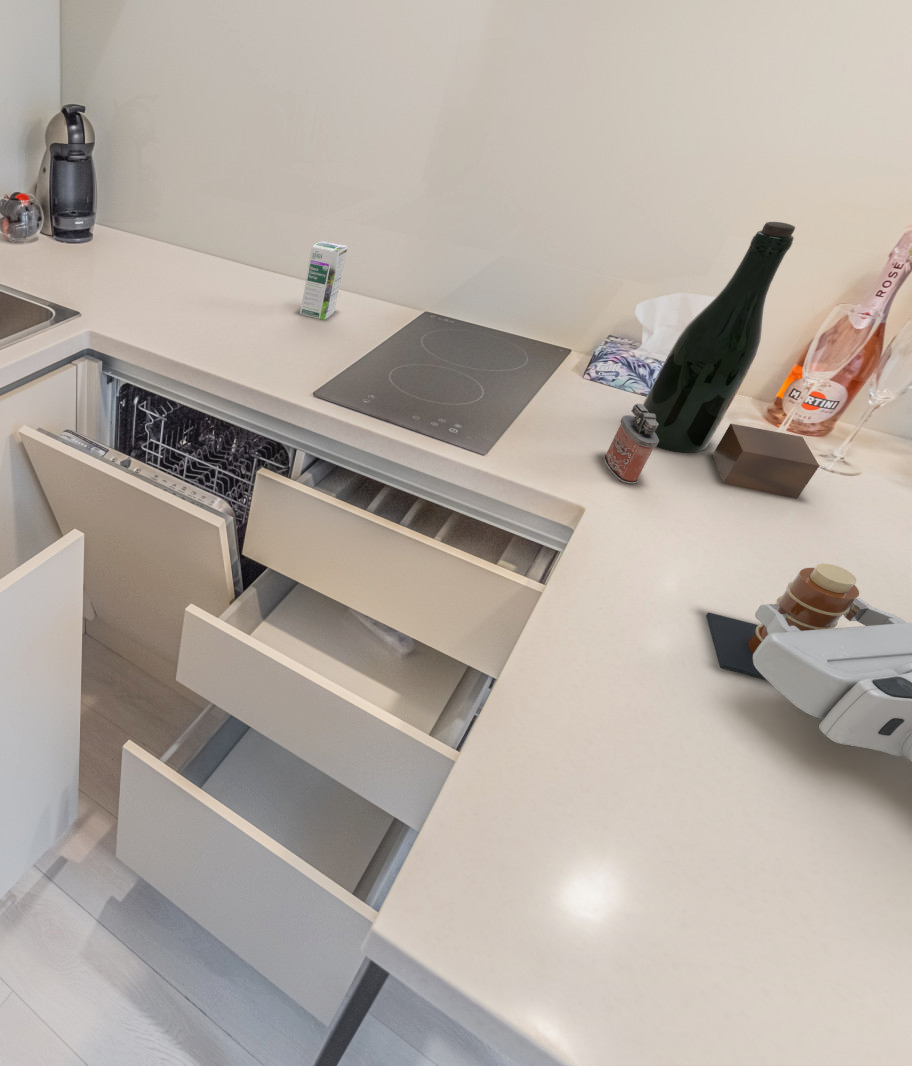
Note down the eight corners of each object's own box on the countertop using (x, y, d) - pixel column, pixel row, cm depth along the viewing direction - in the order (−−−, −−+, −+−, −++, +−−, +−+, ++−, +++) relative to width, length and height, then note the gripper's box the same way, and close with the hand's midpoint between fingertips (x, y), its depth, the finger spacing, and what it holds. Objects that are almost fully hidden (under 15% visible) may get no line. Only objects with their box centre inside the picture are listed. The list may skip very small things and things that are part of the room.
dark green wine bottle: (720, 449, 119) (848, 230, 99) (674, 461, 115) (797, 238, 95) (659, 419, 126) (767, 210, 106) (614, 429, 123) (717, 216, 103)
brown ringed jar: (765, 631, 84) (824, 552, 77) (814, 662, 80) (880, 582, 74) (735, 643, 82) (793, 564, 76) (784, 676, 79) (849, 595, 72)
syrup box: (298, 316, 160) (310, 245, 152) (309, 308, 164) (322, 239, 155) (323, 322, 158) (337, 251, 149) (334, 314, 162) (349, 244, 153)
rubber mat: (818, 647, 84) (824, 641, 83) (843, 705, 77) (849, 699, 76) (703, 618, 87) (708, 611, 87) (717, 671, 81) (722, 664, 80)
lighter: (641, 488, 109) (673, 427, 103) (616, 486, 109) (647, 425, 103) (620, 460, 115) (649, 400, 109) (596, 457, 116) (624, 398, 110)
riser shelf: (779, 471, 114) (802, 436, 110) (795, 502, 107) (819, 465, 103) (710, 457, 116) (730, 423, 113) (721, 486, 110) (742, 450, 106)
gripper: (1065, 678, 66) (914, 576, 77) (858, 696, 64) (732, 588, 75) (1012, 724, 70) (875, 621, 81) (814, 743, 68) (701, 634, 79)
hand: (805, 605), depth 78 cm, fingers open, 8 cm apart
